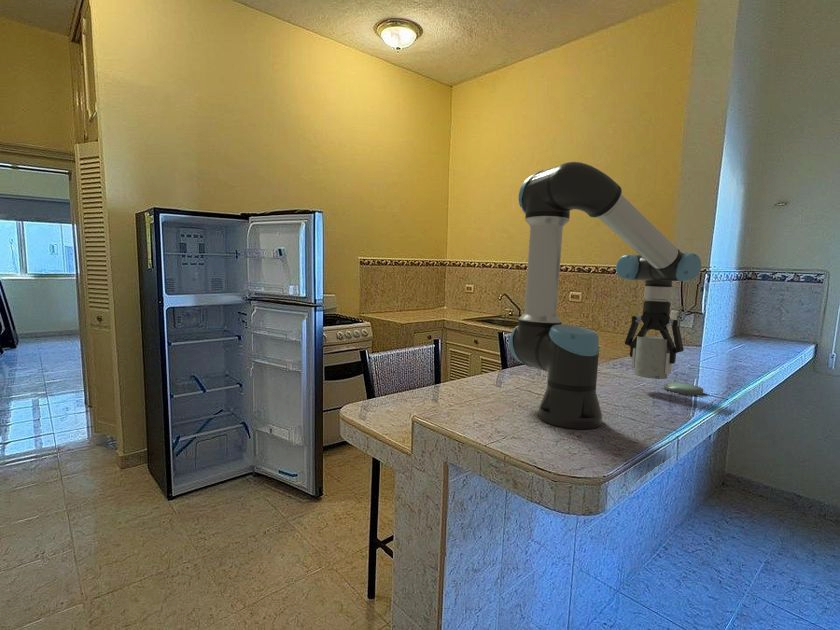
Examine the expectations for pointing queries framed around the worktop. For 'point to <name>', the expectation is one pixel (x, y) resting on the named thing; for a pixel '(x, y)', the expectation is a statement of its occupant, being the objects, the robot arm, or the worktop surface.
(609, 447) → the worktop surface
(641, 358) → the grey marble cylinder
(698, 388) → the pad
